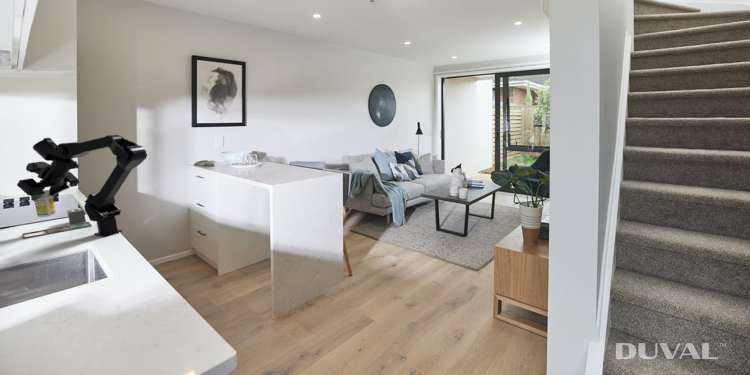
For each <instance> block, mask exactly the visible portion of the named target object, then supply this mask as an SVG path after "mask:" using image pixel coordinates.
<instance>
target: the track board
mask: <svg viewBox="0 0 750 375" xmlns="http://www.w3.org/2000/svg"><path fill="white" fill-rule="evenodd" d="M92 225H93V224H91V223H90V221H86V222H82V223H77V224H67V225H63V226H56V227H53V228H52V227H51V228H46V229H41V230H35V231H30V232H23V233H22V238H23V240H25V239H30V238H36V237H41V236H47V235H52V234H53V235H54V234H58V233H65V232H68V231H74V229H75V230H79V229H83V228H90V227H92ZM40 232H42V233H40ZM43 232H45V233H43ZM36 233H40V234H36ZM30 234H34V235H30ZM25 235H28V236H25ZM29 235H30V236H29Z"/></svg>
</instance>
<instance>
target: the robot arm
mask: <svg viewBox="0 0 750 375" xmlns="http://www.w3.org/2000/svg"><path fill="white" fill-rule="evenodd" d="M108 148H109V149H110V151H111V152H112V154H113V155H114V156H116V157H115V160H116V165H115V166H114V168H113V170H112V171H111V173H110V175H109V176H108V178H107V179H106V181H105V183H103V185H102V187H101V189H100V190H99V191H97V192H93V193H90V194H88V196H87V199H85V200H84V206H83V209H84V212H85V213H86V214H87V217H88V218H89V222H90V221H92V222H96V227H97V232H94V234H93V235H95V236H99V237H108V236H111V235H114V234H117V233H121V232H123V229H118V224H117V220H116V216H119V215H121V211H122V210H121V208H120V207H119V206H118V205H116V204H115V203H116V200H115V197H116V194H117V193H118V192H119V190H120V188H121V187H122V185H123V184H124V182H125V181H126V180H127V178H128V176H129V175H130V173H131V172H132V170H133V169H135V168H137V167H138V166H140V165H141V164H142V163H144V161H145V160H146V159H147V158H148V153H147V150H146V149H145V148H144V146H142V145H139V144H137V142H134V141H131V140H129V139H127V138H124V137H123V136H121V135H119V134H110V135H105V136H103V137H98V138H94V139H90V140H84V141H73V142H71V141H70V142H63V143H59V144H56V142H54V140H53V139H52V138H51V137H43V139H41V140H40V141H38V142H35V144H33V146H32V149H33V150H34V151H35V152H36V153H37V154H38V155H39V156H40V157H41V158H42V159H43V160H45V161H34V162H28V164H27V165H26V166H25V170H26V171H27V172H29V173H34V174H36V175H37V178H39V179H40V180H39V181H38V182H37V181H36V180H35V179H34V178H25V179H20V180H18V182H17V184H16V187H19V189H20V190H22V191H23V192H24V193H25V194H26V195H27V196H30V198H31V199H30V200H31V201H33V202H34V201H35V200H36V199H38V198H39V197H41V196H42V195H43V194H45V192H44V191H43V190H46V188H49V189H48V190H49V195H51V196H52V197H53V196H55V195H57V194H58V193H61V192H63V191H66V190H68V189H70V187H71V188H73V187H77V186H78V185H79V183H80V180H79V178H78V177H76V176H75V175H74V174H73V172H71V170H74V169H79V168H80V166H79V164H78V162H77V161H76V160H74V159H77V158H82V157H84V156H87V155H88V154H89V153H91V152H94V151H99V150H103V149H108ZM46 161H51V163H47V162H46ZM68 183H69V184H68Z"/></svg>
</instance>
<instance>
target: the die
mask: <svg viewBox="0 0 750 375" xmlns="http://www.w3.org/2000/svg"><path fill="white" fill-rule="evenodd" d="M66 212H67V218H68V222H69V225H73V224H79V223H84V222H87V220H86V215H85V209H84V208H79V207H78V208H76V209H70V210H66Z"/></svg>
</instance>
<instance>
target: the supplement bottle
mask: <svg viewBox="0 0 750 375" xmlns="http://www.w3.org/2000/svg"><path fill="white" fill-rule="evenodd" d="M43 191H44V192H45V194H43V195H42V196H41V197H39V198H38V199H36V200H35V201H33V203H34V206H35V209H36V215H37V217H39V218H46V217H51V216H55V215H56V214H57V212H56V208H55V203H54V198H53V196H51V195H49V189H44V190H43Z"/></svg>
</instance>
